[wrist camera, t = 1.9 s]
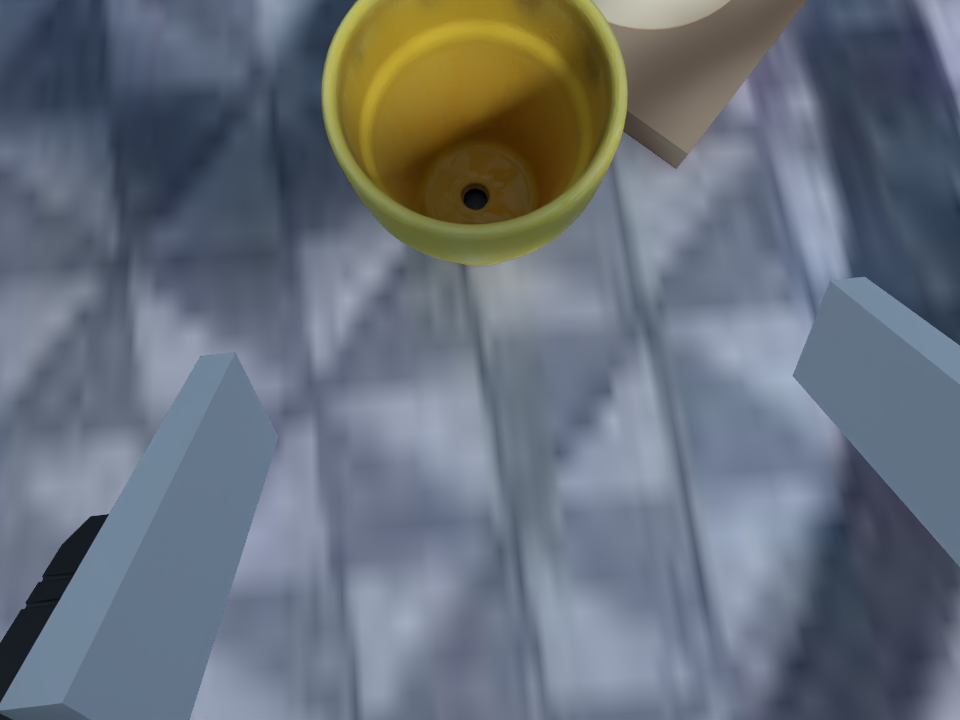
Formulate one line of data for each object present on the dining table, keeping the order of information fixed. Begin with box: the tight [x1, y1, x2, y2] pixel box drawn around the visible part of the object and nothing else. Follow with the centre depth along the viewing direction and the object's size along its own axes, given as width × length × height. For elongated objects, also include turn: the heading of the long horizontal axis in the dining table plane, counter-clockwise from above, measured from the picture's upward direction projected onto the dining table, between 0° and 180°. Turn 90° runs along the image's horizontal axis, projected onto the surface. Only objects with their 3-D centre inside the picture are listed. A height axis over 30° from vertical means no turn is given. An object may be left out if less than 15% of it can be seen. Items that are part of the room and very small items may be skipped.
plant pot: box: [321, 0, 628, 266], centre depth 21 cm, size 10×10×10 cm
